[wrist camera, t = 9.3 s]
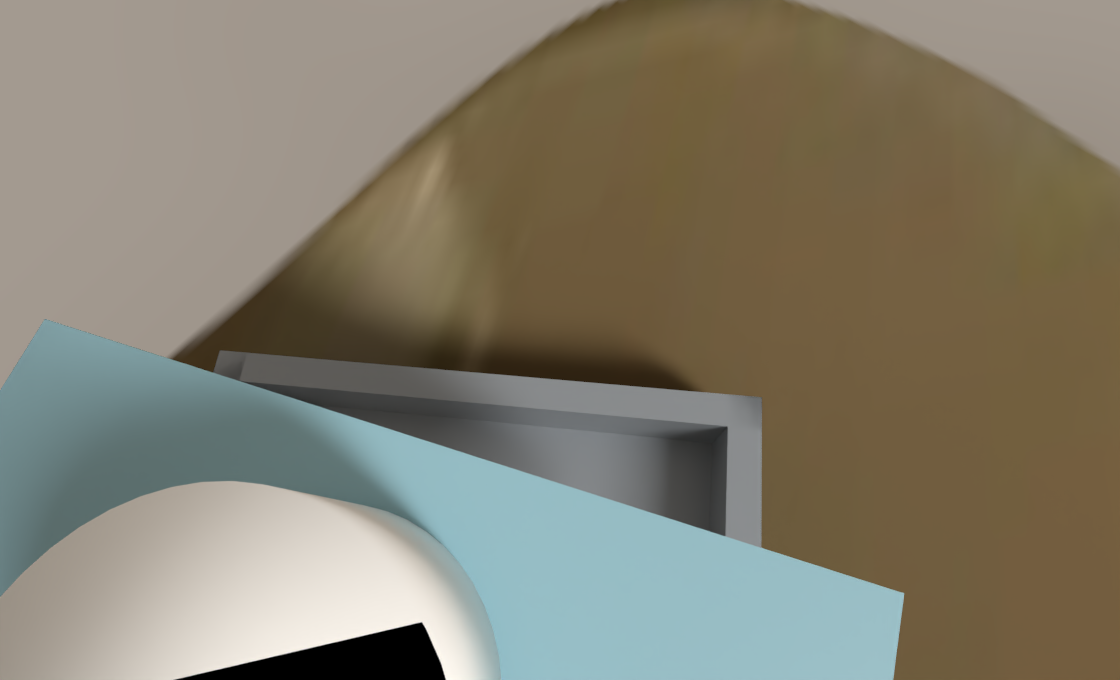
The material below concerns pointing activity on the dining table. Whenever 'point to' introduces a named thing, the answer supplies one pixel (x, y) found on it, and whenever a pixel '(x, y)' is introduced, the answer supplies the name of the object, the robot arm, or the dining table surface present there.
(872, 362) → the dining table surface
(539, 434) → the gray square tray
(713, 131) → the dining table surface
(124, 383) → the carton
